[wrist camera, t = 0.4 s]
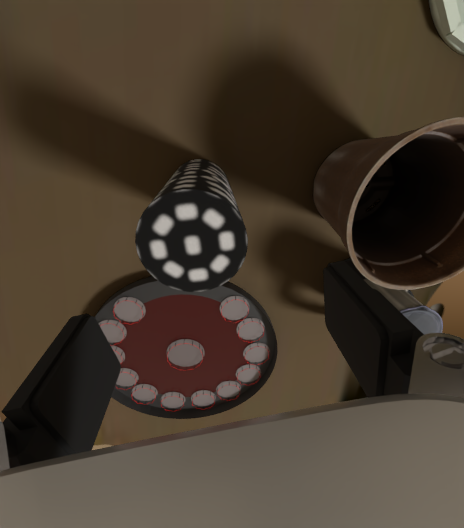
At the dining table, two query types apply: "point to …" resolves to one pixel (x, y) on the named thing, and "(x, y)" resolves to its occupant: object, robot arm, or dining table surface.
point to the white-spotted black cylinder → (193, 230)
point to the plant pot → (399, 204)
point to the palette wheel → (187, 348)
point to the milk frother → (407, 306)
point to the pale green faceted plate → (449, 22)
